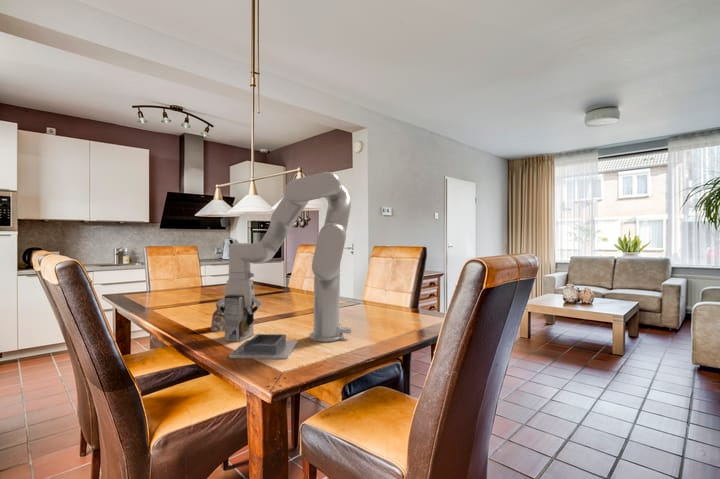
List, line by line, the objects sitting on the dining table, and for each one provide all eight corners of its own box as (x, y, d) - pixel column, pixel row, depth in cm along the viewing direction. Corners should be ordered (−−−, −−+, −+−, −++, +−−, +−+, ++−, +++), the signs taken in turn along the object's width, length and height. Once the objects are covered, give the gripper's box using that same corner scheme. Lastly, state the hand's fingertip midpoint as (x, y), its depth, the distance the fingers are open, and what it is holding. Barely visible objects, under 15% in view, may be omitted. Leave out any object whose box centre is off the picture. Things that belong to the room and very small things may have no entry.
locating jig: (298, 343, 125) (298, 333, 125) (287, 358, 109) (287, 347, 109) (247, 342, 125) (247, 332, 125) (229, 358, 109) (229, 346, 109)
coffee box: (239, 334, 137) (239, 292, 137) (253, 335, 135) (254, 292, 135) (223, 340, 128) (223, 295, 128) (239, 342, 126) (239, 296, 126)
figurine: (212, 332, 139) (212, 301, 139) (209, 328, 145) (209, 299, 145) (231, 330, 142) (231, 300, 142) (227, 326, 148) (228, 297, 148)
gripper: (265, 275, 135) (265, 322, 135) (220, 275, 135) (220, 321, 135) (259, 277, 127) (259, 327, 127) (211, 277, 128) (211, 326, 128)
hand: (239, 324), depth 131 cm, fingers closed on coffee box, 7 cm apart
